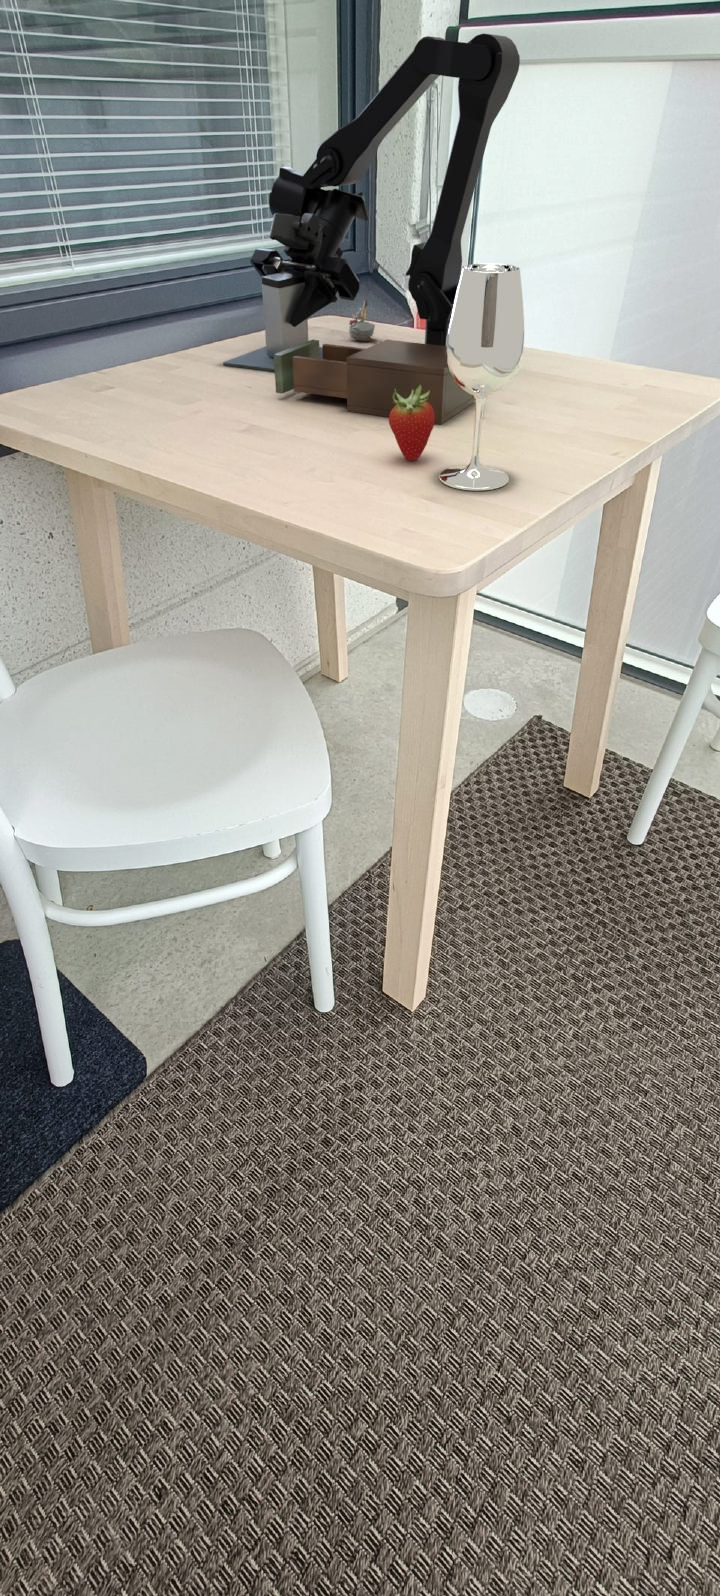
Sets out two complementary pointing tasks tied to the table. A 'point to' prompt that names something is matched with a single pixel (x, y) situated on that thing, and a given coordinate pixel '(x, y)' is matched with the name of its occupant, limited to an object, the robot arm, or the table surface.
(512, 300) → the wineglass
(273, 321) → the grey canister
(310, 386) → the drawer
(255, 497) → the table surface
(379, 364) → the cabinet
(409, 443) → the fruit
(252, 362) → the mat
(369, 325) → the figurine
